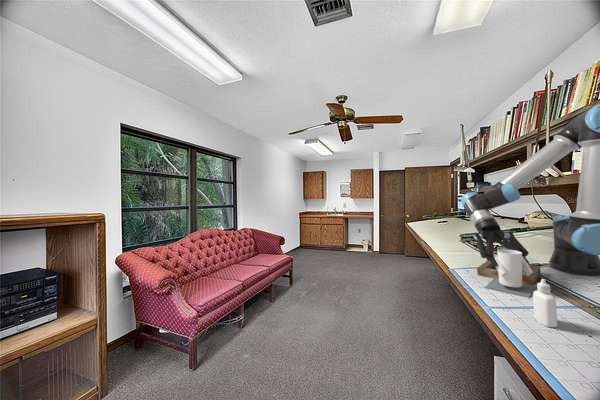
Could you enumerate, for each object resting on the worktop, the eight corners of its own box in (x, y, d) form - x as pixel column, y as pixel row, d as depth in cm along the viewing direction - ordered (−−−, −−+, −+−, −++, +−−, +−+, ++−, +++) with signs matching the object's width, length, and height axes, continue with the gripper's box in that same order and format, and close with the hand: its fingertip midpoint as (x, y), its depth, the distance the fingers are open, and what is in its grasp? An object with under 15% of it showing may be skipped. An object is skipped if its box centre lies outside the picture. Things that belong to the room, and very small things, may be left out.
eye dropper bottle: (556, 320, 65) (554, 278, 64) (557, 329, 61) (555, 284, 60) (534, 315, 68) (532, 274, 67) (533, 324, 64) (531, 280, 64)
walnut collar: (540, 273, 97) (540, 266, 97) (532, 285, 87) (532, 277, 86) (489, 265, 110) (489, 259, 110) (477, 274, 100) (477, 268, 100)
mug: (520, 289, 81) (519, 255, 80) (495, 283, 86) (494, 251, 86) (527, 281, 86) (526, 249, 86) (504, 277, 92) (503, 246, 91)
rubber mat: (536, 287, 85) (535, 286, 85) (529, 297, 78) (529, 296, 78) (494, 279, 95) (494, 278, 95) (485, 287, 88) (484, 286, 88)
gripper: (507, 227, 100) (543, 278, 84) (455, 229, 103) (480, 279, 87) (516, 215, 94) (556, 268, 79) (461, 218, 97) (489, 270, 82)
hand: (516, 274), depth 83 cm, fingers closed on mug, 8 cm apart
